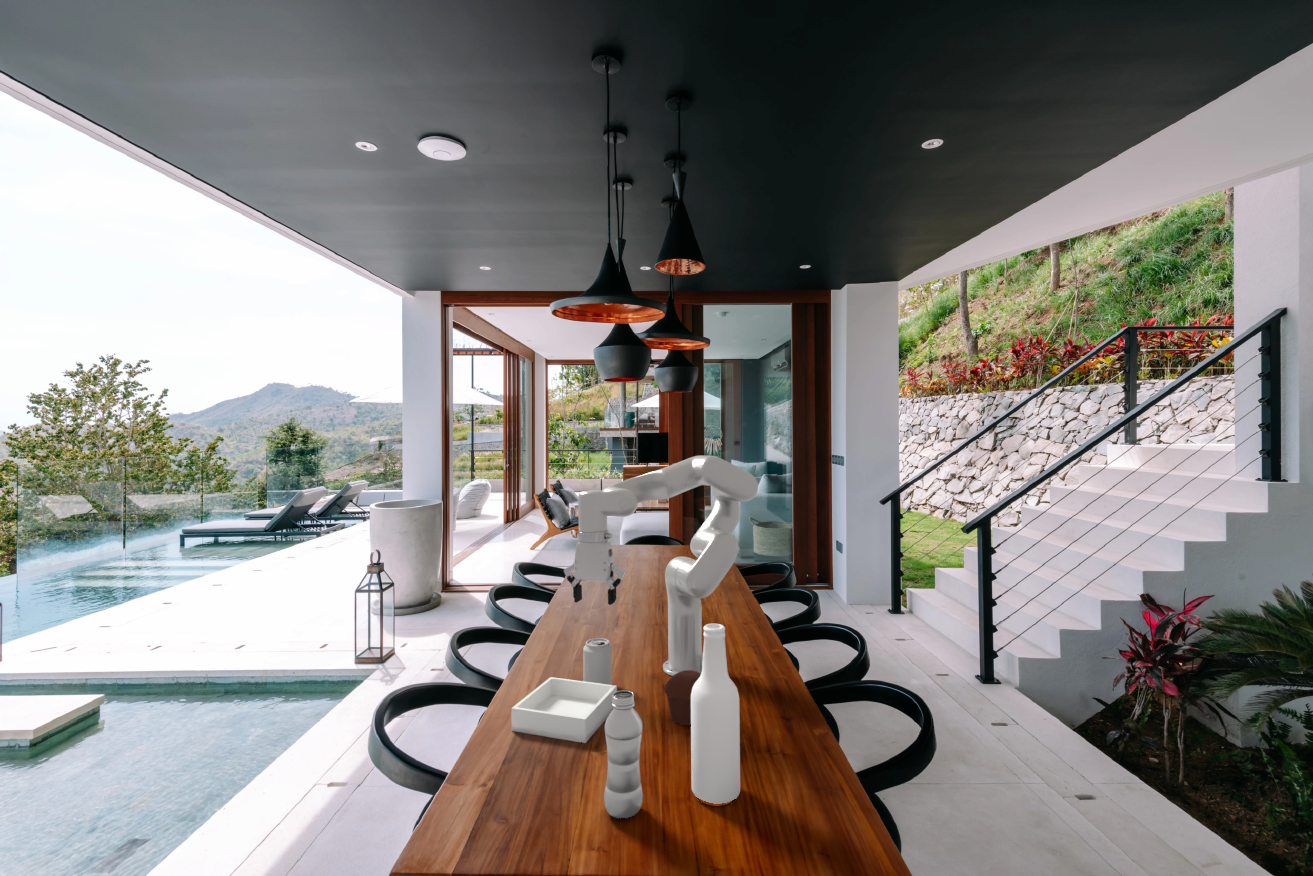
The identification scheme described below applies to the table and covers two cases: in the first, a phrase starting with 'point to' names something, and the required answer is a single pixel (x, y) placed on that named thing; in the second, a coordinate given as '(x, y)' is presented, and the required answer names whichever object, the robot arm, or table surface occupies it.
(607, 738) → the plastic bottle
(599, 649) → the can
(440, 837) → the table surface
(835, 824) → the table surface
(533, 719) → the tote
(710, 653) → the alcohol
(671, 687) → the muffin
